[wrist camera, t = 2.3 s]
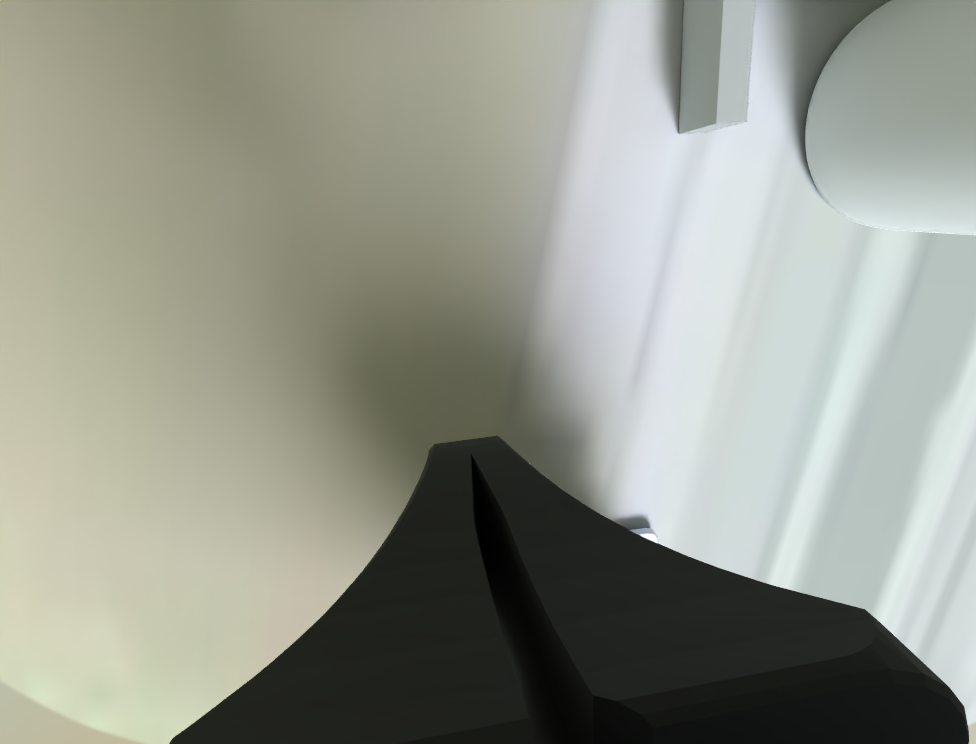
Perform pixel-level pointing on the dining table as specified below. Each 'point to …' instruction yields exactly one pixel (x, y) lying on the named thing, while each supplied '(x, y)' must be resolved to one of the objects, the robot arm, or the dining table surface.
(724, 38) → the grey shallow rimmed tray
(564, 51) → the dining table surface
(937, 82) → the pill bottle
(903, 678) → the robot arm
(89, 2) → the dining table surface
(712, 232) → the dining table surface
